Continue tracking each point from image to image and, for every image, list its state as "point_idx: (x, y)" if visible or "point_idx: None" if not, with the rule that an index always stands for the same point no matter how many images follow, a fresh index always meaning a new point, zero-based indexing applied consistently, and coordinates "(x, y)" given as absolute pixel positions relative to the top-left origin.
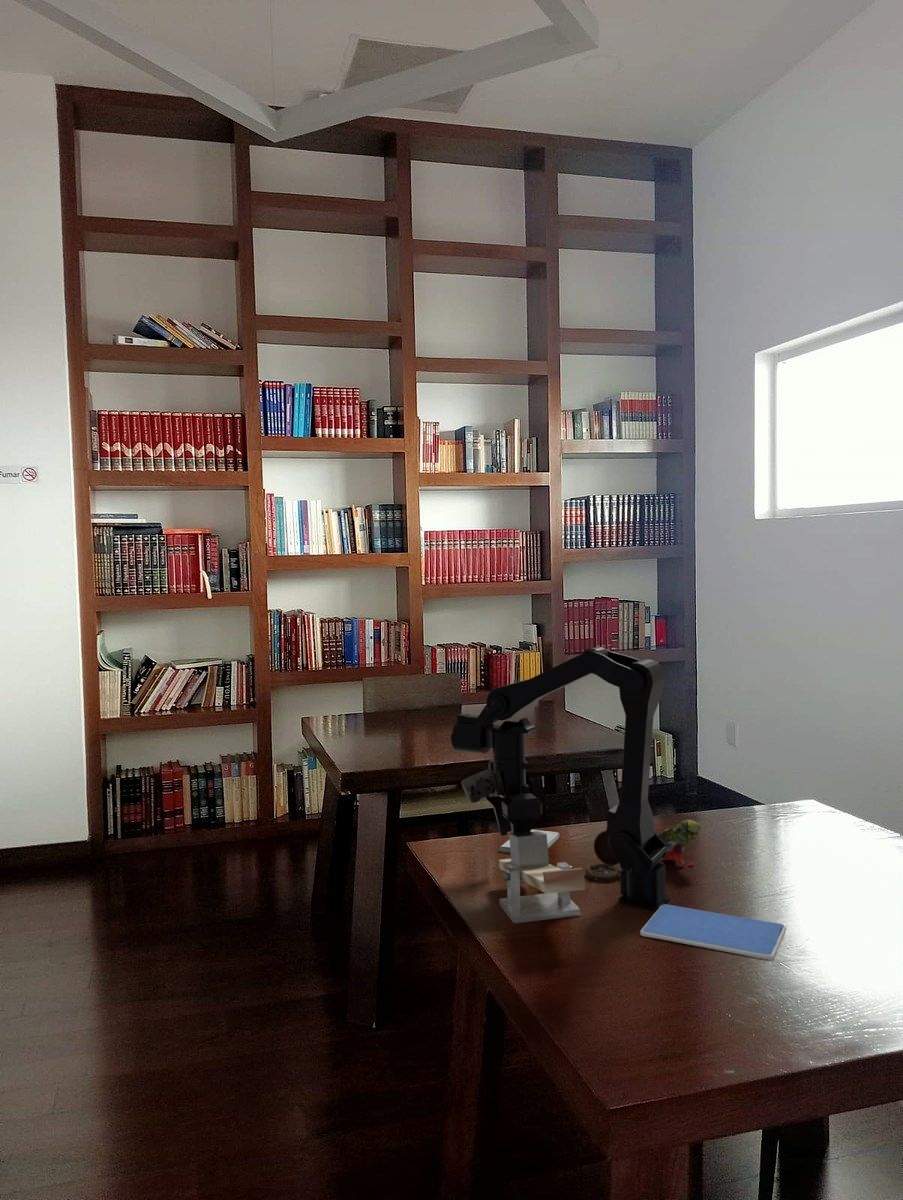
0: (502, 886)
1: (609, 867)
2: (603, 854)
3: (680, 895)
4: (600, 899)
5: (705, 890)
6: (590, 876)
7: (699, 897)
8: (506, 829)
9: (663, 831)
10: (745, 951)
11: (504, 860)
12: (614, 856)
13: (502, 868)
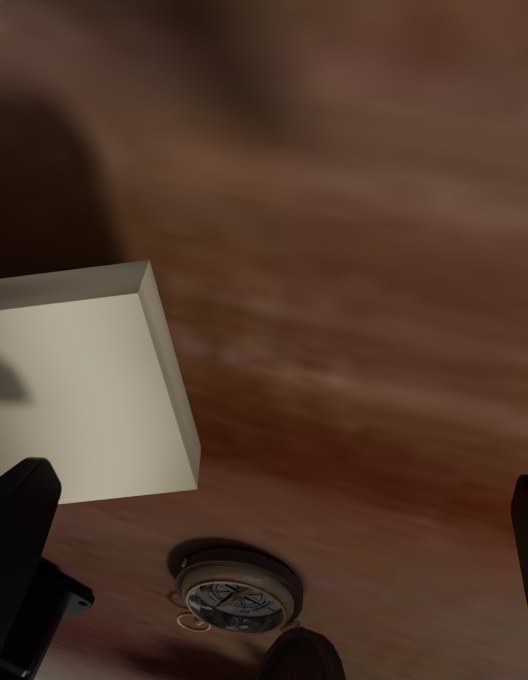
0: (160, 221)
1: (268, 622)
2: (317, 663)
3: (73, 640)
4: None
5: (108, 675)
6: (204, 559)
7: (62, 655)
8: (525, 561)
9: None
10: None
11: (76, 327)
12: (290, 672)
13: (53, 277)
